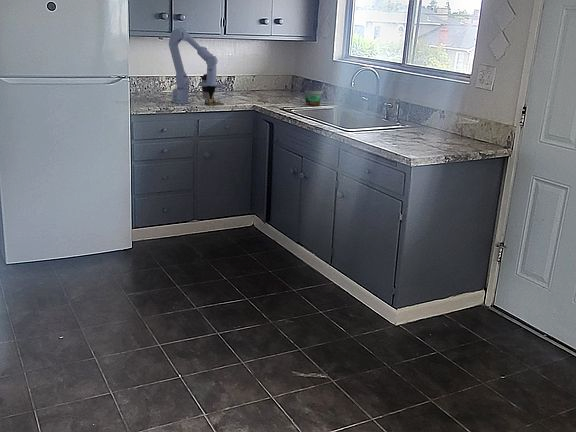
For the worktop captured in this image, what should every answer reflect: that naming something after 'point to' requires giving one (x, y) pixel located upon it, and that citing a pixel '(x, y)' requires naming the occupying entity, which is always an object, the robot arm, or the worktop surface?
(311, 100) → the food container
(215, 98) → the bar
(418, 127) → the worktop surface
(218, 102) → the plate
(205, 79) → the coffee cup
